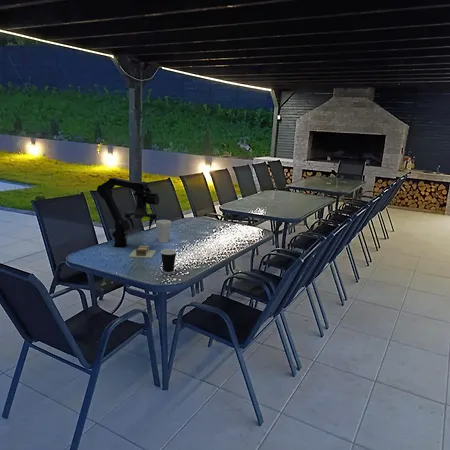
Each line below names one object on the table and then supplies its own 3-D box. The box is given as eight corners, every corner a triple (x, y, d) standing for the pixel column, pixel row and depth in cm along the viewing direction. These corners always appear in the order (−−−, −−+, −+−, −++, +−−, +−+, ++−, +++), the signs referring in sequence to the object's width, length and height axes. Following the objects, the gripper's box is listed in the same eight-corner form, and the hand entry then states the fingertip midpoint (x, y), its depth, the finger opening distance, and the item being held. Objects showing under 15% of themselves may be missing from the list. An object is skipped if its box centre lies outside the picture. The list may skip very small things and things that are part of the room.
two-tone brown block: (140, 250, 232) (140, 245, 231) (148, 250, 232) (148, 245, 231) (136, 255, 222) (136, 250, 222) (145, 256, 222) (145, 251, 221)
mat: (128, 257, 221) (128, 256, 221) (134, 250, 234) (134, 249, 233) (151, 258, 221) (151, 257, 221) (156, 251, 234) (156, 250, 233)
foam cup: (158, 243, 249) (158, 223, 246) (154, 239, 257) (154, 220, 254) (173, 242, 254) (173, 222, 250) (168, 238, 261) (168, 219, 258)
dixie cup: (178, 274, 200) (178, 253, 197) (162, 275, 197) (162, 254, 194) (173, 268, 207) (173, 248, 204) (158, 270, 204) (158, 249, 201)
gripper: (121, 205, 224) (122, 232, 227) (154, 206, 223) (154, 233, 227) (126, 201, 234) (127, 227, 238) (158, 203, 234) (158, 228, 238)
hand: (141, 229), depth 235 cm, fingers open, 9 cm apart
